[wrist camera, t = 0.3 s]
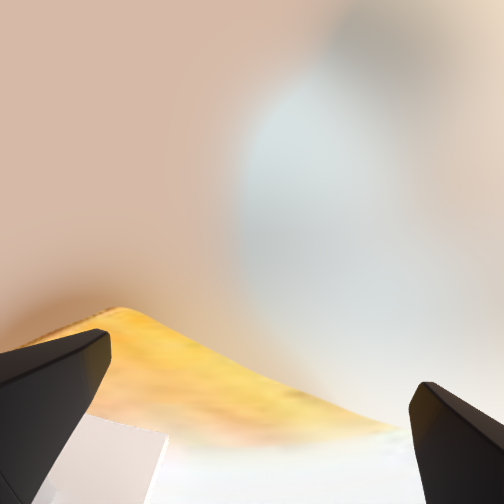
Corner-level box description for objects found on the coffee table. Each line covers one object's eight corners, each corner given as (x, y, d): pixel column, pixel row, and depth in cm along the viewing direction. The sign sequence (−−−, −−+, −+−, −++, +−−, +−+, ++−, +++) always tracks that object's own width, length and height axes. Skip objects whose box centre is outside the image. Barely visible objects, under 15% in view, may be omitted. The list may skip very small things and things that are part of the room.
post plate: (102, 651, 3) (66, 651, 2) (-73, 532, 4) (-113, 497, 2) (169, 440, 22) (160, 400, 20) (22, 396, 23) (4, 356, 21)
